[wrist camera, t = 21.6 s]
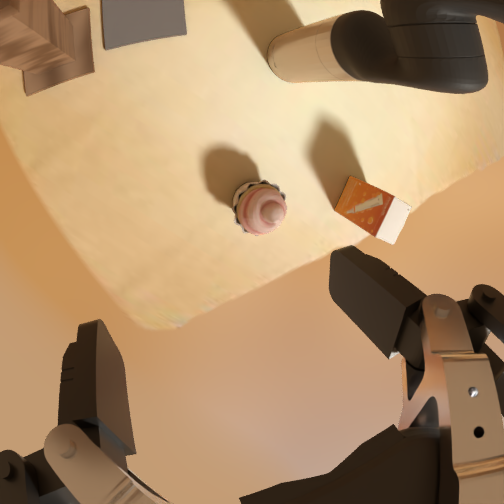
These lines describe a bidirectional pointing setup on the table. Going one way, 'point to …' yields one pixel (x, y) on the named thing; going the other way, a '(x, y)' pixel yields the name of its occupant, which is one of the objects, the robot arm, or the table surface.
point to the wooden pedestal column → (45, 42)
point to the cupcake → (259, 207)
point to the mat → (141, 21)
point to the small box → (373, 209)
